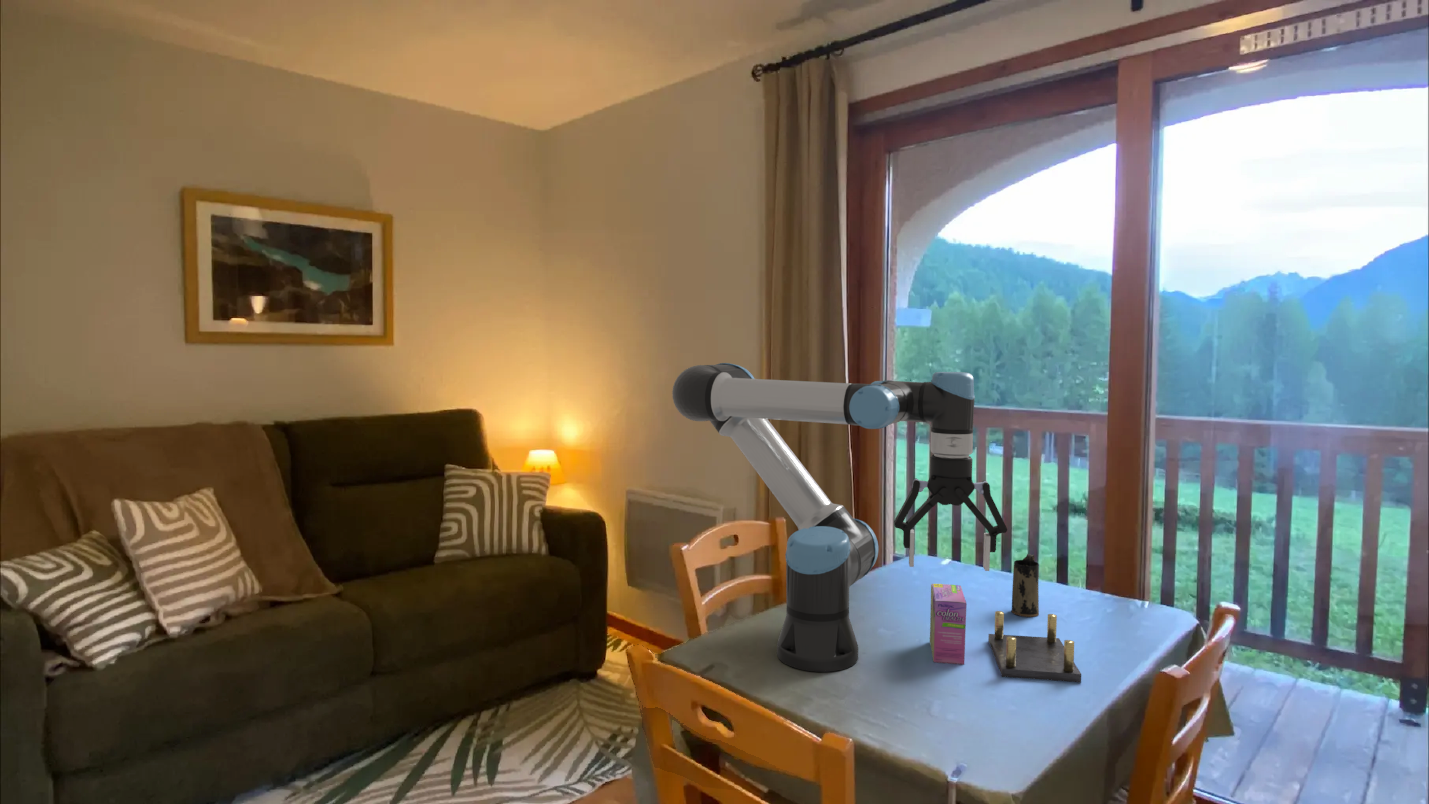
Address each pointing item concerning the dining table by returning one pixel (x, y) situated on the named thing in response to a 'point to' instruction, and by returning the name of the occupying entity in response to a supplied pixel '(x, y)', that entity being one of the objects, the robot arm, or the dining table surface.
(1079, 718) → the dining table surface
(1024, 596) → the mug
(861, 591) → the dining table surface
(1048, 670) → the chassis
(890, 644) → the dining table surface
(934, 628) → the box
